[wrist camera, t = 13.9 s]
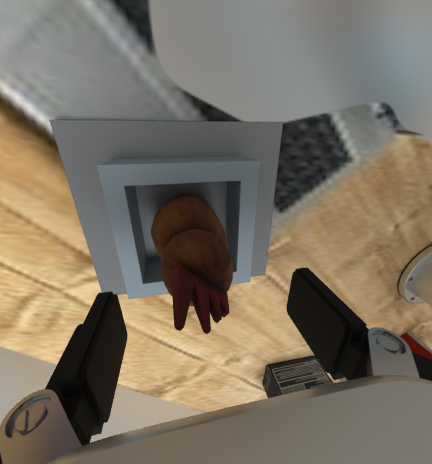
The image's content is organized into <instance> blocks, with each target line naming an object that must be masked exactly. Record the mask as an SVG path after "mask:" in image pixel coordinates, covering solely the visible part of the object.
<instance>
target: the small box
mask: <svg viewBox="0 0 432 464" xmlns="http://www.w3.org/2000/svg"><path fill="white" fill-rule="evenodd" d="M329 384H333V382H332V381H331V379H330V378H329V376H328V375H327V373H326V372H325V370H324V369H323V367H322V366H321V364H320V363H319V361H318V360H317V358H316V356H311V357H306V358H301V359H297V360H292V361H287V362H282V363H277V364H272V365H268V366H267V368H266V372H265V377H264V380H263V387H264V389H265V392H266V394H267V397H268V398H272V397H276V396H280V395H285V394H289V393H294V392H298V391H303V390H307V389H311V388H316V387H320V386H325V385H329Z"/></svg>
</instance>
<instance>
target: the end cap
mask: <svg viewBox="0 0 432 464" xmlns="http://www.w3.org/2000/svg"><path fill="white" fill-rule="evenodd" d="M50 123H51V127H52V130H53V133H54V136H55V140H56V143H57V146H58V149H59V153H60V156H61V159H62V163H63V166H64V169H65V172H66V176H67V179H68V182H69V186H70V189H71V192H72V195H73V199H74V202H75V205H76V209H77V212H78V215H79V218H80V222H81V225H82V228H83V232H84V235H85V238H86V241H87V245H88V248H89V251H90V255H91V258H92V261H93V264H94V268H95V271H96V274H97V278H98V281H99V284H100V287H101V291H102V292H113V294H117V295H121V294H127V295H128V299H133V298H140V297H147V296H154V295H161V294H168V293H169V292H168V290H167V288H166V286H165V284H164V282H163V279H162V272H161V258H160V256H159V254H158V252H157V250H156V248H155V245H154V242H153V239H152V236H151V227H152V223H153V220H154V216H155V213H156V212H157V211H158V210H159V209H160V208H161V207H162V205H163V204H164V203H165V202H167V201H168V200H170V199H172V198H174V197H176V196H179V195H182V194H186V193H190V194H194V195H198V196H202V197H204V199H205V200H206V201H207V202H208V203H209V204H210V206H211V207H212V208H213V210H214V212H215V213H216V215H217V217H218V218H219V220H220V222H221V224H222V227H223V229H224V231H225V234H226V237H227V243H228V251H229V254H230V257H231V260H232V263H233V280H232V283H231V284H238V283H245V282H250V277H251V276H259V275H265V271H266V262H267V254H268V245H269V237H270V228H271V220H272V211H273V203H274V194H275V186H276V177H277V169H278V160H279V152H280V143H281V135H282V126H283V122H214V121H105V120H50Z"/></svg>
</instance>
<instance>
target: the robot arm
mask: <svg viewBox="0 0 432 464" xmlns="http://www.w3.org/2000/svg"><path fill="white" fill-rule="evenodd" d="M399 293H400V295H401V296H402V297H403V298H404V299H405V300H407V301H408V302H411V303H421V302H427V303H428V304H430V305H431V306H432V246H430V247H428V248H427V249H425V250H424V251H423V252H421V253H420V254H419V255H418V256H417V257H416V258H414V259H413V260H412V262H411V263H410V264H409V265H408V266H407V268H406V269H405V271H404V272H403V274H402V276H401V279H400V282H399ZM287 313H288V315H289V316H290V318H291V319H292V321H293V322H294V324H295V326H296V327H297V329H298V330H299V332H300V333H301V335H302V336H303V338H304V339H305V341H306V342H307V344H308V345H309V347H310V348H311V350H312V352H313V353H314V355H315V356H316V358H317V359H318V361H319V362H320V364H321V365H322V367H323V368H324V370H325V371H326V372H327V373H330V375H331V376H332V378H333V379H334V380H337V379H342V378H346V379H347V381H343V382H338V383H334V384H329V385H325V386H320V387H316V388H311V389H307V390H303V391H298V392H294V393H289V394H285V395H280V396H276V397H272V398H267V399H263V400H259V401H254V402H250V403H246V404H241V405H237V406H233V407H228V408H224V409H220V410H216V411H211V412H207V413H203V414H199V415H195V416H190V417H186V418H182V419H178V420H174V421H169V422H165V423H161V424H157V425H153V426H149V427H145V428H142V429H137V430H133V431H129V432H126V433H122V434H118V435H114V436H111V437H108V438H104V439H102V440H98V441H95V442H91V443H90V439H91V436H92V435H96V434H101V431H102V427H103V423H105V422H107V421H108V419H109V416H110V412H111V408H112V403H113V399H114V394H115V390H116V386H117V381H118V377H119V373H120V368H121V364H122V360H123V355H124V351H125V347H126V342H127V330H126V326H125V323H124V319H123V315H122V311H121V307H120V304H119V300H118V296H117V294H113V292H102V293H98V295H97V297H96V299H95V301H94V303H93V305H92V307H91V309H90V311H89V313H88V315H87V317H86V319H85V321H84V323H83V324H80V325H78V326H77V328H76V329H75V331H74V333H73V335H72V337H71V339H70V341H69V343H68V345H67V347H66V349H65V351H64V353H63V355H62V357H61V359H60V361H59V362H58V364H57V367H56V369H55V370H54V372H53V375H52V376H51V378H50V380H49V382H48V384H47V386H46V388H45V390H39V391H37V392H34V393H32V394H30V395H28V396H27V397H25V398H24V399H22V400H21V401H20V402H19V403H17V404H16V405H15V406H14V407H13V408H12V409H11V410H10V411H9V412H8V414H7V415H6V417H5V418H4V420H3V421H2V423H1V425H0V464H432V360H431V359H429V358H426V357H424V356H421V355H419V354H417V353H414V352H412V351H411V349H410V347H409V345H408V344H407V343H406V342H405V340H404V339H402V338H401V337H400V336H399V335H397V334H395V333H394V332H392V331H389V330H387V329H384V328H377V327H374V328H371V329H370V330H369V329H368V328H367V327H366V323H364V322H363V321H362V320H361V319H360V318H359V317H358V316H357V315H356V314H355V313H354V312H353V311H352V310H351V309H350V308H349V307H348V306H347V305H346V304H345V303H344V302H343V301H342V300H341V299H340V298H338V297H337V296H336V295H335V294H334V293H333V292H332V291H331V290H330V289H329V288H328V287H327V286H326V285H325V284H324V283H323V282H322V281H321V280H320V279H319V278H318V277H317V276H316V275H315V274H314V273H313V272H311V271H310V270H309V269H308V268H299V269H296V270H295V272H293V275H292V280H291V286H290V291H289V297H288V302H287Z"/></svg>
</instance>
